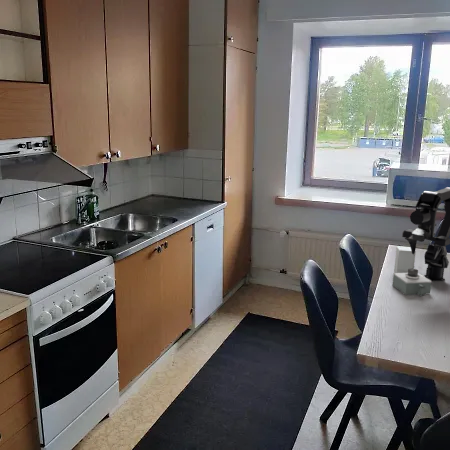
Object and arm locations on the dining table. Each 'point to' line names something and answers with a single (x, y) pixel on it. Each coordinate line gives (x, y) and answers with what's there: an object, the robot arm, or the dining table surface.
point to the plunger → (412, 274)
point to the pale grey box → (411, 284)
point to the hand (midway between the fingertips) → (423, 256)
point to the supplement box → (404, 259)
